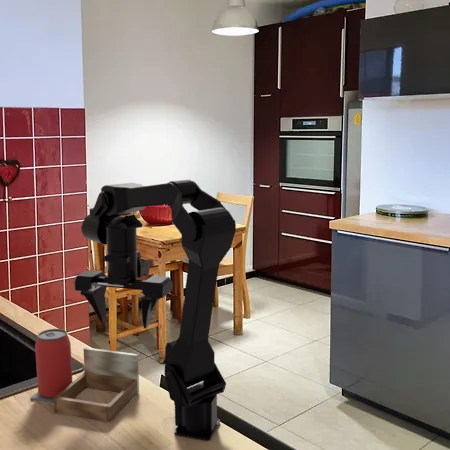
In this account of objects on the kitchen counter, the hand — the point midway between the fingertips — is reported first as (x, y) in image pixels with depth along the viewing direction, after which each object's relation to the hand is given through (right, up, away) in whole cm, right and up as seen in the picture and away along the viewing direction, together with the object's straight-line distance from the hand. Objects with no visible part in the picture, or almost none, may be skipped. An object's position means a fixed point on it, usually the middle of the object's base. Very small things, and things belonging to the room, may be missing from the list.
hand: (124, 325), depth 114 cm
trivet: (-13, -13, -1) cm, 19 cm away
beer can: (-13, -13, -1) cm, 19 cm away
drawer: (-4, -14, -4) cm, 15 cm away
